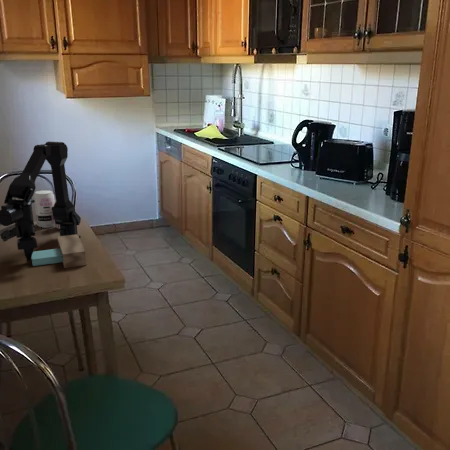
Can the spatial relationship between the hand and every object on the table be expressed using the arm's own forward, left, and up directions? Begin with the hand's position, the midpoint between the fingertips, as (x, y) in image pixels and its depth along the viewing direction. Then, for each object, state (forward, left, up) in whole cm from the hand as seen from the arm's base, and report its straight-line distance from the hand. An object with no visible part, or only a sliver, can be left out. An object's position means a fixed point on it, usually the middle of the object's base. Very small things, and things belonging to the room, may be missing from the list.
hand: (28, 259), depth 184 cm
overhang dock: (-12, +9, -1) cm, 15 cm away
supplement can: (-35, -28, -1) cm, 44 cm away
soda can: (-36, -19, -1) cm, 40 cm away
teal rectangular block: (-6, +5, -1) cm, 7 cm away
